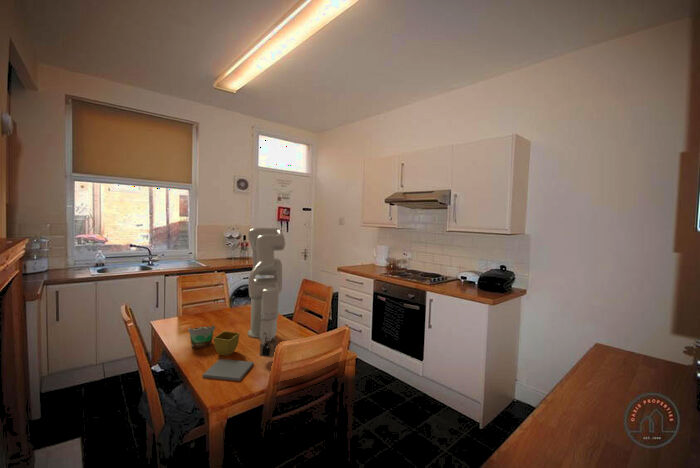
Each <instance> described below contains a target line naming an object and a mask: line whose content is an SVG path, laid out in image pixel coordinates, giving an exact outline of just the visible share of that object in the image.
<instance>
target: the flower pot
mask: <svg viewBox="0 0 700 468" xmlns="http://www.w3.org/2000/svg"><path fill="white" fill-rule="evenodd" d="M239 339H240V333H239V332H234V331H233V332H232V331H226V330H224V331H222V332H221V333H219V334H217V335H216V336H214V337H213V344H214V348H215V351H216V353H217V354H218V355H221V356H225V357H227V356H230V355H231V354H232V353H234V352H235V351H236V349H237V346H238V344H239Z"/></svg>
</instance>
